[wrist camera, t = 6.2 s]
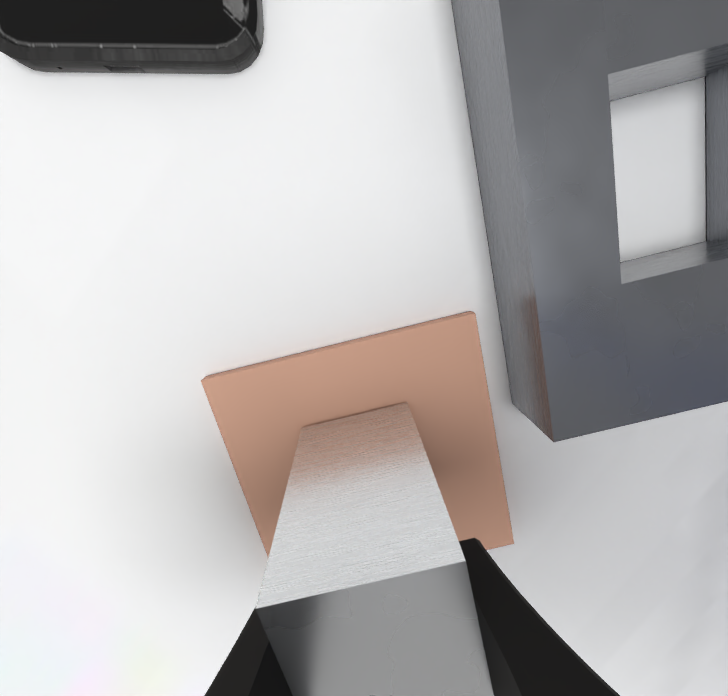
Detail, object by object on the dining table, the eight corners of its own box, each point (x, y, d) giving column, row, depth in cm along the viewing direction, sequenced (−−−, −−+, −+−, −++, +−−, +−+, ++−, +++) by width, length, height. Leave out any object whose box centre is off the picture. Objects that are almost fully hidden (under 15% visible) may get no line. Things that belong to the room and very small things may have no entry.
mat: (509, 534, 16) (514, 543, 15) (285, 586, 16) (282, 596, 16) (470, 311, 13) (475, 313, 13) (206, 376, 14) (200, 380, 13)
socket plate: (770, 342, 14) (879, 365, 11) (512, 404, 14) (553, 442, 11) (788, -119, 11) (954, -259, 8) (447, -25, 11) (482, -127, 8)
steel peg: (428, 492, 15) (496, 706, 8) (330, 515, 15) (314, 745, 8) (407, 402, 13) (466, 561, 7) (301, 427, 14) (255, 608, 7)
